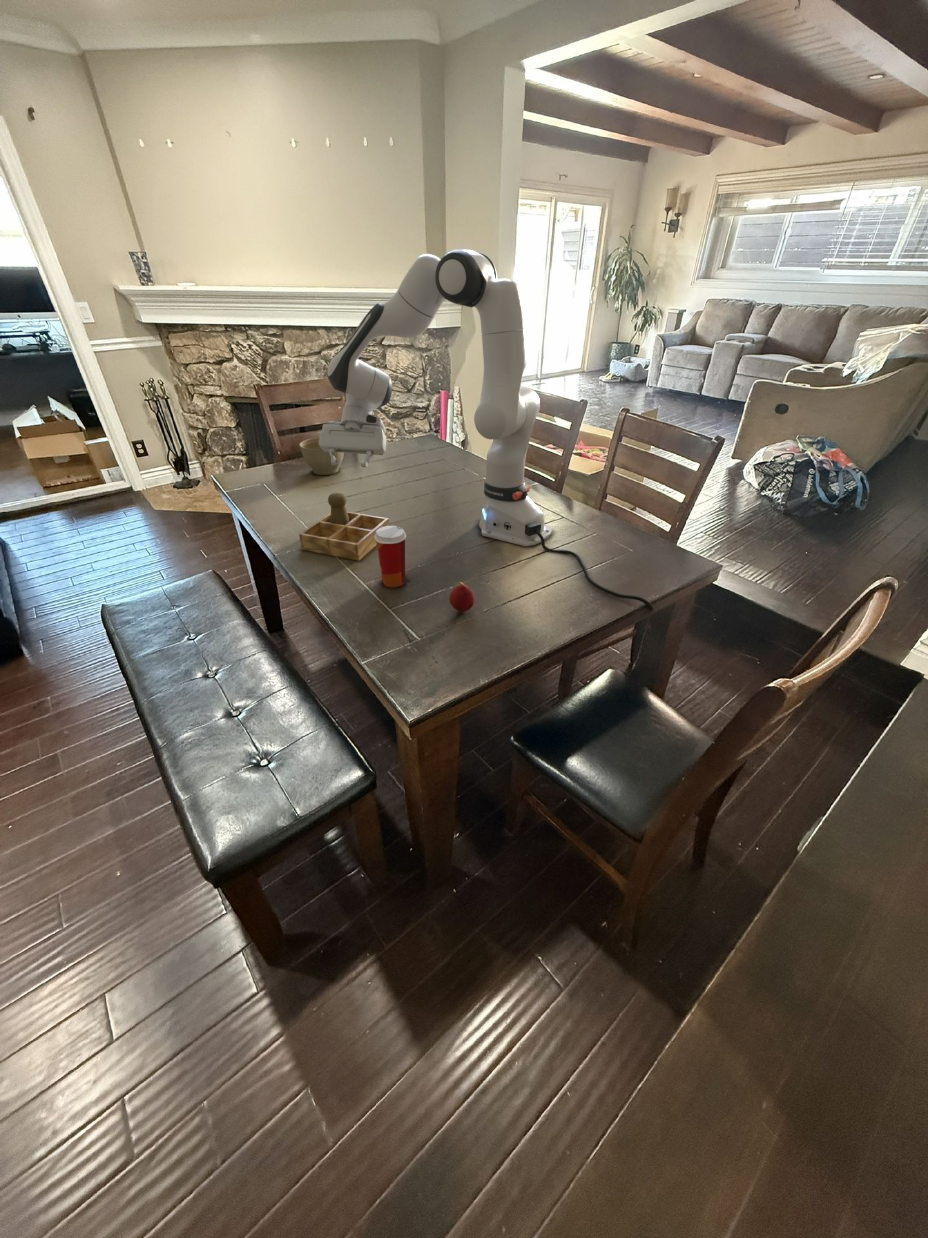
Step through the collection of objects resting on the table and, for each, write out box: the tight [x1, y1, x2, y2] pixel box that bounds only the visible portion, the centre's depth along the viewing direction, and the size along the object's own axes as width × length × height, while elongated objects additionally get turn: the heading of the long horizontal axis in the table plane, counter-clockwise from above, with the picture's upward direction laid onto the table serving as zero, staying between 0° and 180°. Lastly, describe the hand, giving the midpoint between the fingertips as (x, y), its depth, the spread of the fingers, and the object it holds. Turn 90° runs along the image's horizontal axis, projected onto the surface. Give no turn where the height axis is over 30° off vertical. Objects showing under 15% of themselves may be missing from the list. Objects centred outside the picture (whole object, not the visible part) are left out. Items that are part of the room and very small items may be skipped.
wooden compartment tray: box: [298, 511, 390, 562], centre depth 148 cm, size 18×18×5 cm
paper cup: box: [374, 525, 407, 588], centre depth 126 cm, size 8×8×14 cm
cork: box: [327, 492, 350, 525], centre depth 150 cm, size 6×6×11 cm
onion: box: [449, 581, 476, 614], centre depth 117 cm, size 6×6×8 cm
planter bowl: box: [299, 437, 345, 476], centre depth 194 cm, size 16×16×11 cm
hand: (348, 465), depth 152 cm, fingers open, 8 cm apart
